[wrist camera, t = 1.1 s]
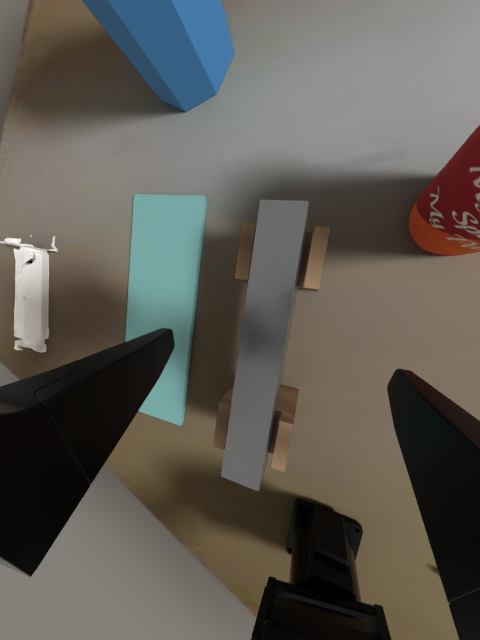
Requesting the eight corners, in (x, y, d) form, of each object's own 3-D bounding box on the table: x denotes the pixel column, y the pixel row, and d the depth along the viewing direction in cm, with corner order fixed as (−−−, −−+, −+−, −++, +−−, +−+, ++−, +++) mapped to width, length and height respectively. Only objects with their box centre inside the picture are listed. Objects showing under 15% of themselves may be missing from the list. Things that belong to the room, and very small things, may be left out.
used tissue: (70, 241, 31) (37, 233, 27) (49, 356, 35) (17, 364, 31) (19, 219, 33) (-18, 209, 30) (4, 329, 37) (-30, 333, 33)
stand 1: (317, 290, 21) (318, 289, 15) (255, 282, 23) (235, 278, 17) (325, 247, 21) (330, 227, 14) (261, 242, 22) (242, 222, 16)
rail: (266, 462, 19) (258, 491, 16) (233, 450, 20) (220, 476, 17) (309, 217, 16) (309, 200, 13) (268, 215, 17) (260, 199, 14)
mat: (183, 423, 28) (180, 426, 27) (125, 402, 30) (121, 404, 30) (207, 198, 24) (204, 195, 23) (137, 196, 26) (133, 194, 26)
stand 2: (291, 425, 23) (284, 472, 17) (237, 408, 25) (212, 445, 19) (298, 389, 23) (293, 424, 17) (242, 375, 24) (218, 401, 18)
